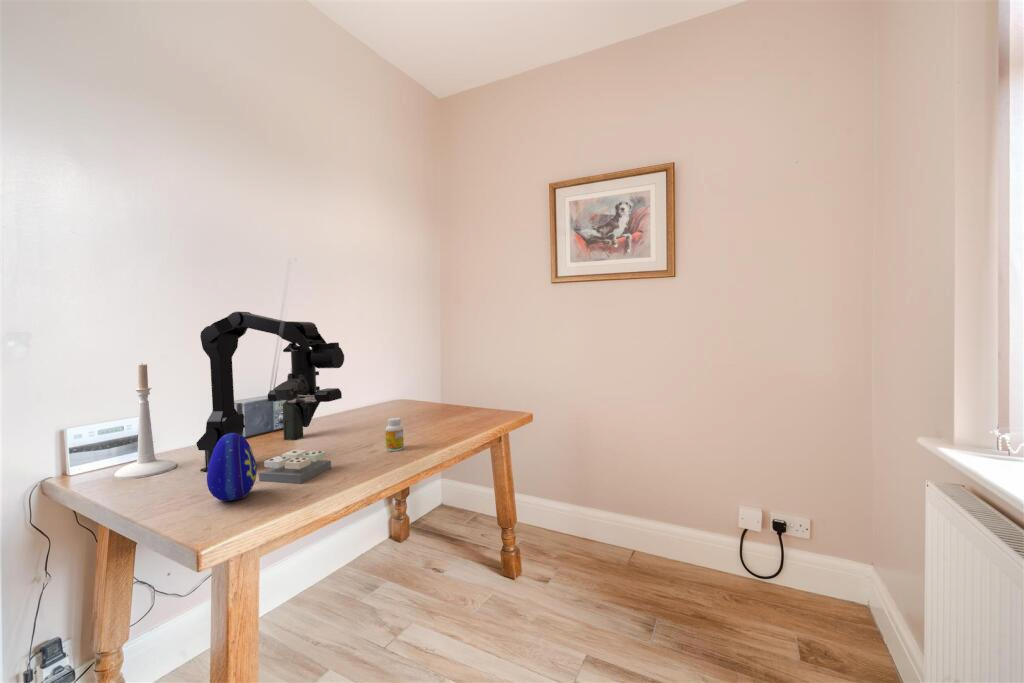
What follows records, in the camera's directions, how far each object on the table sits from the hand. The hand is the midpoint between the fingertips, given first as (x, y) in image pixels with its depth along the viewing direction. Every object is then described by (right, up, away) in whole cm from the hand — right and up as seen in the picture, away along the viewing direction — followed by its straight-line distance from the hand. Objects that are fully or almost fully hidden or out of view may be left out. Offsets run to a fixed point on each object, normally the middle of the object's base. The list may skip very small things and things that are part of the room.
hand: (306, 426), depth 110 cm
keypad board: (-2, -12, -1) cm, 13 cm away
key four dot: (0, -9, -5) cm, 10 cm away
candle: (-23, -12, +37) cm, 45 cm away
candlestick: (-46, -13, +4) cm, 48 cm away
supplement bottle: (+18, -12, +21) cm, 30 cm away
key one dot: (-4, -9, +3) cm, 10 cm away
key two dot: (-6, -9, -3) cm, 11 cm away
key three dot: (+1, -9, +1) cm, 9 cm away
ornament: (-8, -13, -16) cm, 23 cm away
